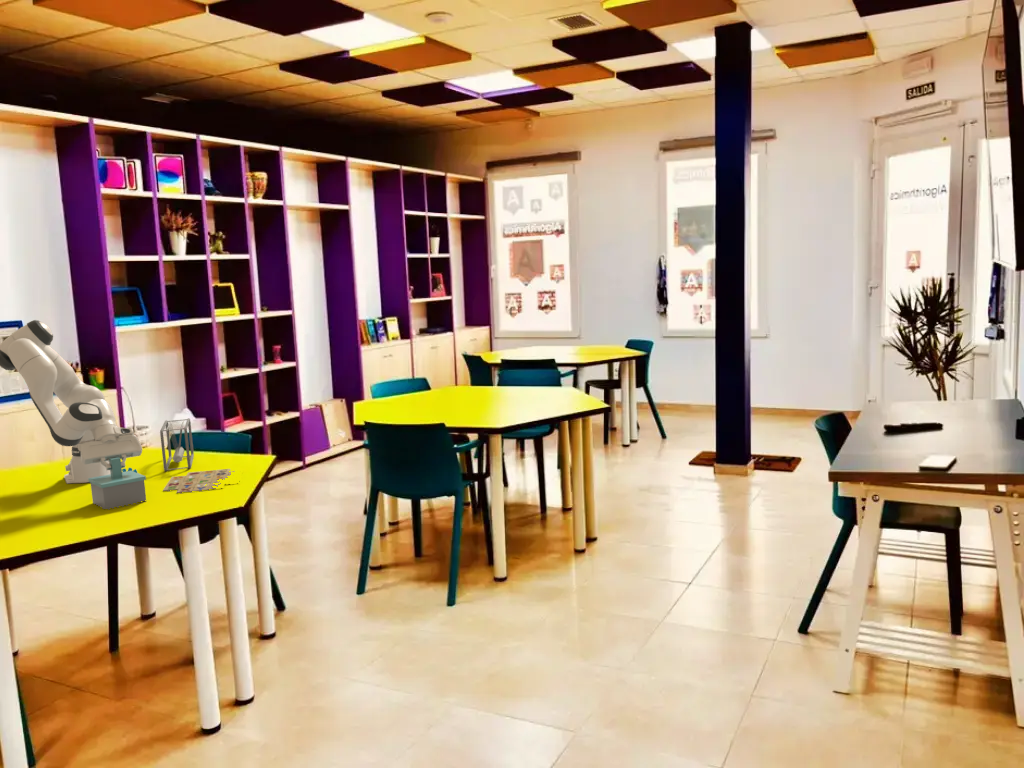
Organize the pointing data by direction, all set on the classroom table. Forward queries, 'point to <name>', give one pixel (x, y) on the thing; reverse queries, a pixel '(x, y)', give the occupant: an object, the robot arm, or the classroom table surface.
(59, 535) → the classroom table surface
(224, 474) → the alphabet tiles
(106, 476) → the lid
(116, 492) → the grey open box
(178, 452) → the newton's cradle
